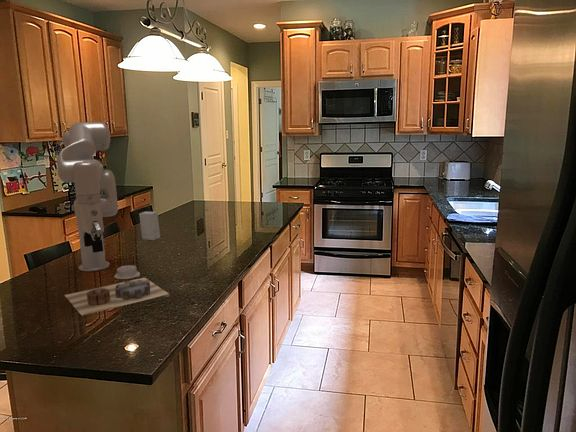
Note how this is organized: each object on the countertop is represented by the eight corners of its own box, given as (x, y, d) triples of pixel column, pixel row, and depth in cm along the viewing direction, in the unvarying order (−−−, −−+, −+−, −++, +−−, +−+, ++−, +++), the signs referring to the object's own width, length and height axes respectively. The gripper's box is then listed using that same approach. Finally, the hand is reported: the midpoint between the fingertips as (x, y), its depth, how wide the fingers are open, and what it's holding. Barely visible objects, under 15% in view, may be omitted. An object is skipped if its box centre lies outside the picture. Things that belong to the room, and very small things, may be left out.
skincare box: (160, 238, 255) (158, 211, 252) (153, 240, 249) (151, 213, 247) (148, 236, 258) (146, 210, 255) (140, 239, 253) (138, 212, 250)
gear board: (64, 297, 169) (62, 283, 168) (145, 279, 187) (143, 266, 185) (82, 318, 150) (80, 302, 149) (169, 296, 168) (168, 282, 167)
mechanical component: (145, 276, 191) (131, 272, 197) (144, 266, 190) (130, 262, 196) (123, 283, 183) (109, 278, 190) (122, 272, 183) (108, 268, 189)
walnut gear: (106, 296, 166) (105, 287, 166) (112, 301, 161) (111, 292, 160) (85, 301, 162) (84, 291, 162) (91, 307, 157) (90, 297, 156)
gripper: (108, 201, 150) (113, 252, 153) (93, 194, 163) (97, 241, 167) (83, 203, 146) (89, 256, 149) (70, 197, 159) (75, 245, 162)
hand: (93, 248), depth 158 cm, fingers open, 9 cm apart
